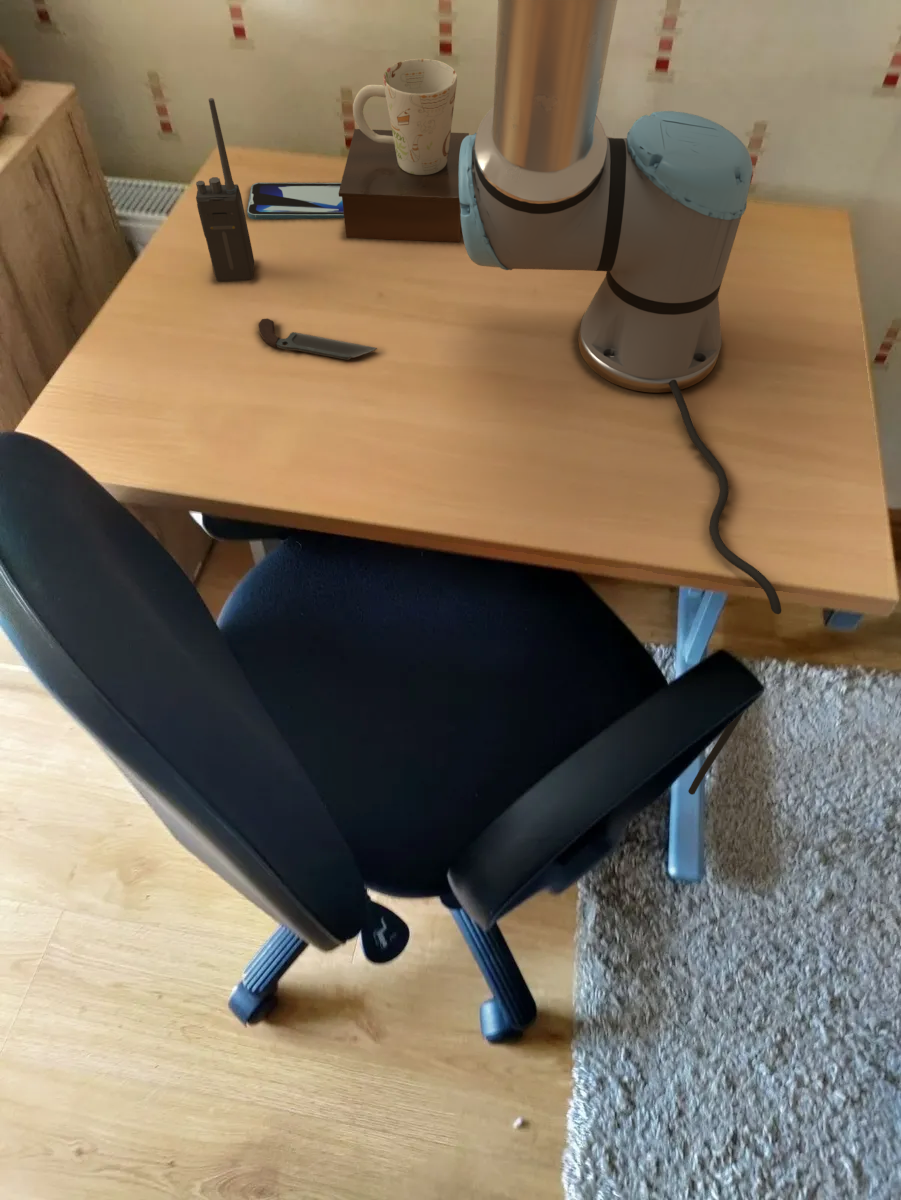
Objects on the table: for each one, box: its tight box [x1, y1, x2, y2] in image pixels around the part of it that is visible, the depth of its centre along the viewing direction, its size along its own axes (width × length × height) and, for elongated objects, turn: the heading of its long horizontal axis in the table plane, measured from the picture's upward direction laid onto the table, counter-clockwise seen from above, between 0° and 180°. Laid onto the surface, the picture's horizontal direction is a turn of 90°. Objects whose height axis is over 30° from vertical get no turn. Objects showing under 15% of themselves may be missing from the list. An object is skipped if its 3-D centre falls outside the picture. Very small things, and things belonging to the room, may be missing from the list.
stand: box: [339, 128, 470, 243], centre depth 110 cm, size 15×15×6 cm
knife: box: [258, 318, 378, 360], centre depth 97 cm, size 14×4×1 cm, turn 74°
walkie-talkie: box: [195, 97, 255, 282], centre depth 97 cm, size 5×3×20 cm
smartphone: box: [246, 182, 344, 221], centre depth 113 cm, size 7×1×15 cm
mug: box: [352, 58, 458, 175], centre depth 104 cm, size 8×13×10 cm, turn 79°
